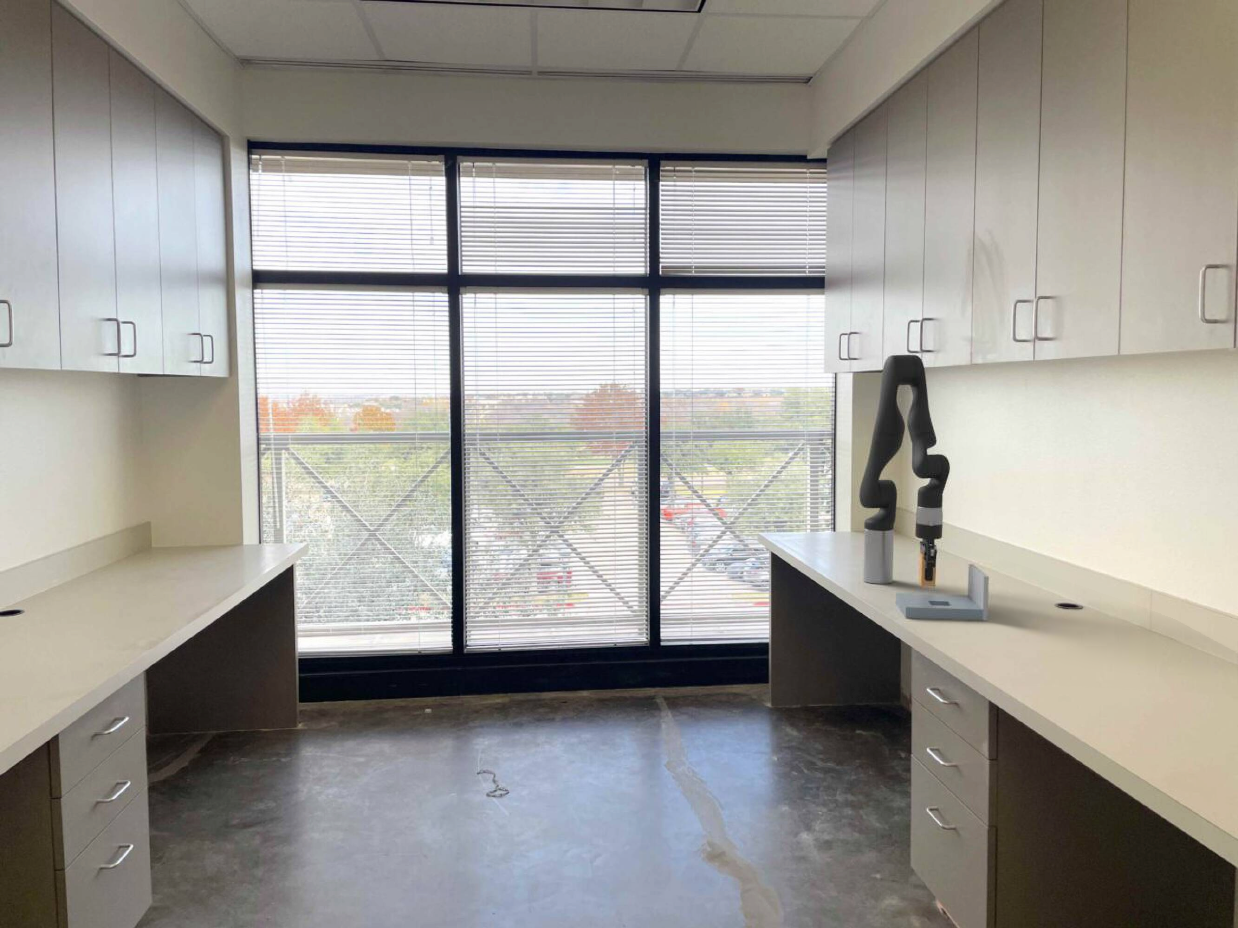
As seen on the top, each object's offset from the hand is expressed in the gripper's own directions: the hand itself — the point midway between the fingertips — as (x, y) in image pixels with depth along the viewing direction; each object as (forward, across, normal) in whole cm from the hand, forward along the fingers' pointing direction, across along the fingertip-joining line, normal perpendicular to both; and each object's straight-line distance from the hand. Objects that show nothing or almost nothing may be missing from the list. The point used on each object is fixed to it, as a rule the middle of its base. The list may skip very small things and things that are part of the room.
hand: (927, 578), depth 272 cm
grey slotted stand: (+6, +17, 0) cm, 18 cm away
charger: (+2, 0, 0) cm, 2 cm away
